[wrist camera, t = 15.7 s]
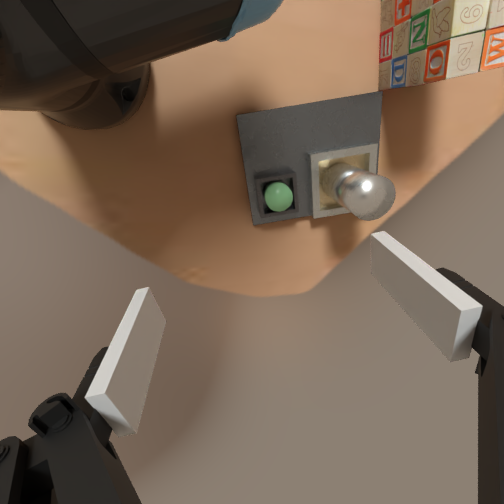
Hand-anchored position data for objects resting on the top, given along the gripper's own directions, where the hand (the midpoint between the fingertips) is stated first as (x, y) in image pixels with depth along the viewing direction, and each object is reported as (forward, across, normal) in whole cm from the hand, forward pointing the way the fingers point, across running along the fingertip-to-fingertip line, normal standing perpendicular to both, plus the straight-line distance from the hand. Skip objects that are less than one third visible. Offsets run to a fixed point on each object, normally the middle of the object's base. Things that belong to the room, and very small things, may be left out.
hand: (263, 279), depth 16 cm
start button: (+24, +5, -3) cm, 25 cm away
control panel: (+26, +10, 0) cm, 28 cm away
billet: (+24, +14, -3) cm, 28 cm away
